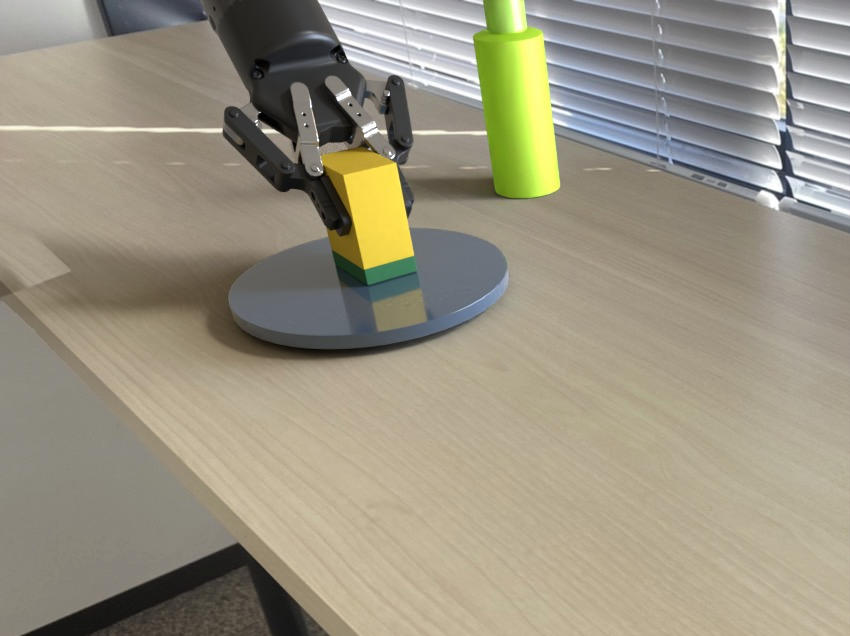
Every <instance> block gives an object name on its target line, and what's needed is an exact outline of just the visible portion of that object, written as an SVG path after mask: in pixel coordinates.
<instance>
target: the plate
mask: <svg viewBox="0 0 850 636" xmlns="http://www.w3.org/2000/svg"><path fill="white" fill-rule="evenodd" d="M409 231H410V236H411V241H412V247H413V252H414V257H415V262H416V267H417V271H416V272H413V273H409V274H406V275H402V276H399V277H395V278H392V279H389V280H385V281H382V282H378V283H375V284H371V285H366V284H364V283H363V282H361V281H360V280H358V279H357V278H355V277H354V276H352V275H350V274H349V273H347V272H346V271H344V270H343V269H341V268H340V267H338V266H336V265H335V262H334V258H333V254H332V249H331V246H330V241H329V237H328V236H326V237H323V238H318V239H313V240H311V241H307V242H304V243H301V244H297V245H294V246H292V247H289V248H286V249H283V250H280V251H279V252H276V253H274V254H272V255H270V256H268V257H265V258H264V259H262V260H260V261H258V262H256V263H255V264H254V265H252V266H250V267H249V268H248V269H246V270H245V271H244V272H242V273H241V274H240V276H238V277H237V278H236V280H235V281H234V282H233V283H232V285H231V287H230V289H229V290H228V296H227V300H228V306H229V309H230V311H231V315H232V318H233V320H234V322H235V323H236V325H237V326H238V327H240V329H241V330H243V331H244V332H246V334H249V335H250V336H252V337H255V338H257V339H260V340H262V341H265V342H269V343H272V344H276V345H280V346H287V347H291V348H299V349H300V348H302V349H312V350H313V349H314V350H349V349H362V348H369V347H370V348H371V347H378V346H387V345H390V344H391V345H392V344H398V343H401V342H406V341H412V340H415V339H420V338H424V337H427V336H430V335H434V334H437V333H440V332H442V331H443V332H444V331H445V330H449V329H450V328H451V329H452V328H453V327H456V326H458V325H460V324H462V323H464V322H465V323H466V322H467V321H469V320H471V319H473V318H475V317H476V316H478V315H480V314H481V313H483V312H485V311H487V310H488V309H489V308H490V307H492V306H493V305H494V304H495V303H496V302H497V301H499V299H500V298H502V296H503V295H504V293H505V292H506V291H507V288H508V285H509V283H510V271H509V263H508V261H507V257H506V256H505V254H504V253H503V251H502V250H500V249H499V247H497V246H496V245H494V244H493V243H491V242H489V241H488V240H487V239H486V240H485V239H483V238H481V237H478V236H476V235H472V234H468V233H465V232H460V231H455V230H449V229H441V228H430V227H429V228H428V227H409Z"/></svg>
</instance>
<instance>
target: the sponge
mask: <svg viewBox="0 0 850 636" xmlns="http://www.w3.org/2000/svg"><path fill="white" fill-rule="evenodd" d="M320 155H321V160H322V164H323V169H324V171H323V174H324V175H325V176H329V177H330V179H331V181H332V183H333V185H334V187H335V189H336V190H337V192H338V194H339V196H340V198H341V200H342V202H343V204H344V205H345V207H346V209H347V211H348V213H349V215H350V217H351V220H352V226H351V230H350V233H349V235H345V236H341V237H340V236H339V235H338V234H337V232H336V230H332V231H330V230H329V229H328V228H327V227H326V226H325V228H326V233H327V237H329V241H330V246H331V249H332V254H333V258H334V262H335V265H336V266H338V267H340V268H341V269H343V270H344V271H346V272H347V273H349V274H350V275H352V276H354V277H355V278H357V279H358V280H360V281H361V282H363V283H364V284H366V285H371V284H375V283H378V282H382V281H385V280H389V279H392V278H395V277H399V276H402V275H406V274H409V273H413V272H416V271H417V267H416V262H415V257H414V252H413V247H412V241H411V236H410V231H409V228H410V227H409V222H408V219H407V216H406V211H405V205H404V200H403V195H402V190H401V185H400V180H399V175H398V170H397V164H396V162H393V161H391V160H389V159H387V158H385V157H383V156H381V155H379V154H377V153H375V152H372V151H370V150H368V149H366V148H364V147H355V148H351V149H348V148H347V149H342V150H337V151H334V152H328V153H324V154H320Z"/></svg>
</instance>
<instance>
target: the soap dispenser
mask: <svg viewBox="0 0 850 636" xmlns="http://www.w3.org/2000/svg"><path fill="white" fill-rule="evenodd" d="M482 3H483V4H482V5H483V12H484V19H485V26H486V28H485V29H482V30H480V31H478V32H475V33H474V34H473V35H472V42H473V48H474V55H475V62H476V69H477V74H478V83H479V89H480V90H479V91H480V95H481V102H482V109H483V117H484V123H485V130H486V137H487V144H488V149H489V151H488V152H489V157H490V164H491V165H490V166H491V171H492V177H493V184H494V185H493V186H494V191H495V192H496V194H498V196H501V197H505V198H509V199H535V198H540V197H544V196H549V195H551V194H552V193H555V192H556V191H558V190H559V189H560V188H561V180H560V171H559V165H558V164H559V163H558V154H557V145H556V144H557V143H556V136H555V128H554V127H555V126H554V118H553V109H552V101H551V93H550V92H551V91H550V83H549V73H548V65H547V57H546V49H545V39H544V32H543V30H542V29H540V28H537V27H533V26H528V23H527V21H528V20H527V14H526V6H525V0H482Z"/></svg>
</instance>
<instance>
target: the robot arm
mask: <svg viewBox="0 0 850 636" xmlns="http://www.w3.org/2000/svg"><path fill="white" fill-rule="evenodd" d="M199 2H200V3H201V6H202V8H203V10H204V12H205V14H206V16H207V19H208V23H209V25H210V27H211V29H212V31H213V32H214V33H215V34H216V35H217V37H218V39H219V41H220V43H221V44H222V46H223V48H224V50H225V51H226V54H227V56H228V58H229V60H230V61H231V63H232V65H233V68H234V69H235V71H236V72H237V74H238V76H239V78H240V80H241V82H242V84H243V85H244V88H245V90H246V91H247V92H248V94H249V95H248V96H249V103H247V104H245V105H243V106H241V107H240V108H239V107H238V106H235V105H229V106H226V107H225V109H224V110H223V122H222V132H221V133H222V136H223V138H224V139H225V140H226V141H227V142H228V143H229V144H230V145H231V146H232V147H233V149H235V150H236V152H238V153H239V154H240V155H241V156H242V157H243V158H244V159H245V160H246V161H247V162H248V163H249V164H250V166H252V167H253V168H254V169H255V170H256V171H257V172H258V173H259V174H260V175H261V176H262V178H264V179H265V180H266V181H267V182H268V183H269V184H270V185H271V186H272V187H273V188H274V189H275V190H276V191H278V192H280V193H288V192H289V191H291V190H297V191H302V192H304V193H305V194H306V195H307V196H308V197H309V199H310V201H311V203H312V204H313V206H314V208H315V210H316V212H317V214H318V216H319V218H320V220H321V221H322V224H323V225H324V226H325V228H326V227H327V228H328V229H329V230H330V231H332V230H336V232H337V234H338V235H339V236H340V237H341V236H345V235H349V233H350V230H351V226H352V220H351V217H350V215H349V213H348V211H347V209H346V207H345V205H344V204H343V202H342V200H341V198H340V196H339V194H338V192H337V190H336V189H335V187H334V185H333V183H332V181H331V179H330V177H329V176H325V175H324V174H323V171H324V169H323V164H322V160H321V155H322V154H321V151H320V148H321V147H323V146H325V145H327V144H330V143H331V144H332V143H333V144H344V145H345V147H346V148H347V149H351V148H355V147H364V148H366V149H368V150H370V151H372V152H375V153H377V154H379V155H381V156H383V157H385V158H387V159H389V160H391V161H393V162H396V164H397V170H398V175H399V180H400V185H401V190H402V195H403V200H404V205H405V211H406V216H407V220H408V219H409V218H410V215H411V214H412V213H411V212H412V210H413V205H414V203H415V193H414V191H413V190H412V188H411V186H410V184H409V182H408V180H407V178H406V176H405V175H404V172H403V171H402V169H401V167H400V166H402V165H405V164H406V163H408V160H409V155H410V151H411V149H412V147H413V145H414V134H413V129H412V122H411V116H410V109H409V104H408V98H407V97H408V96H407V92H406V91H407V90H406V86H405V80H404V79H403V78H402V77H401V76H399V75H396V74H391V75H389V76H388V77H387V80H386V81H381V80H371V79H366V78H365V76H364V75H363V74H362V72H360V71H359V70H358V69H357V68H355V67H354V66H353V64H351V62H350V61H349V59H348V56H347V54H346V52H345V50H344V47H343V45H342V43H341V41H340V39H339V37H338V35H337V33H336V31H335V29H334V28H333V25H331V23H330V20H329V18H328V17H327V15H326V13H325V12H324V9H323V7H322V5H321V3H320V1H319V0H200V1H199ZM366 99H368V100H370V101H371V102H372V103H373V105H374V107H375V109H376V110H377V113H378V115H383V117H384V123H385V127H386V134H387V139H386V138H385V136H383V135H382V133H381V132H380V131H379V130H378V126H377V123H376V121H375V120H374V119H373V117H372V116H371V115H370V114H369V113H368V112H367V111H366V110H365V109H364V104H365V100H366ZM262 124H264V125H266V126H268V127H269V128H270V129H272V130H274V131H276V132H277V133H279V134H281V135H282V136H284V137H285V138H287V139H289V143H290V147H291V152H292V157H293V161H294V162H293V161H292V159H290V158H289V157H288V156H287V155H286V154H285V153H284V152H283V151H282V149H280V147H278V146H277V145H276V143H274V141H272V140H271V139H270V137H268V136H267V134H265V133H264V132H263V125H262Z"/></svg>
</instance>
